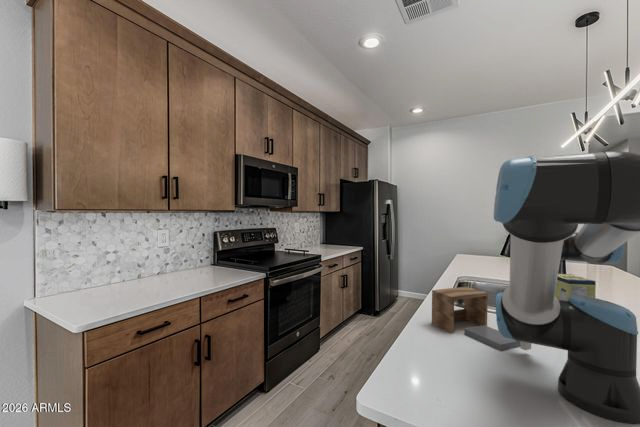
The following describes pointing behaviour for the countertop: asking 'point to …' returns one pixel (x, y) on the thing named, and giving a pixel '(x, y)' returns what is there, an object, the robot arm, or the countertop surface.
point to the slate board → (491, 337)
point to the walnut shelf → (472, 309)
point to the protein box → (574, 286)
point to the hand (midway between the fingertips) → (525, 348)
